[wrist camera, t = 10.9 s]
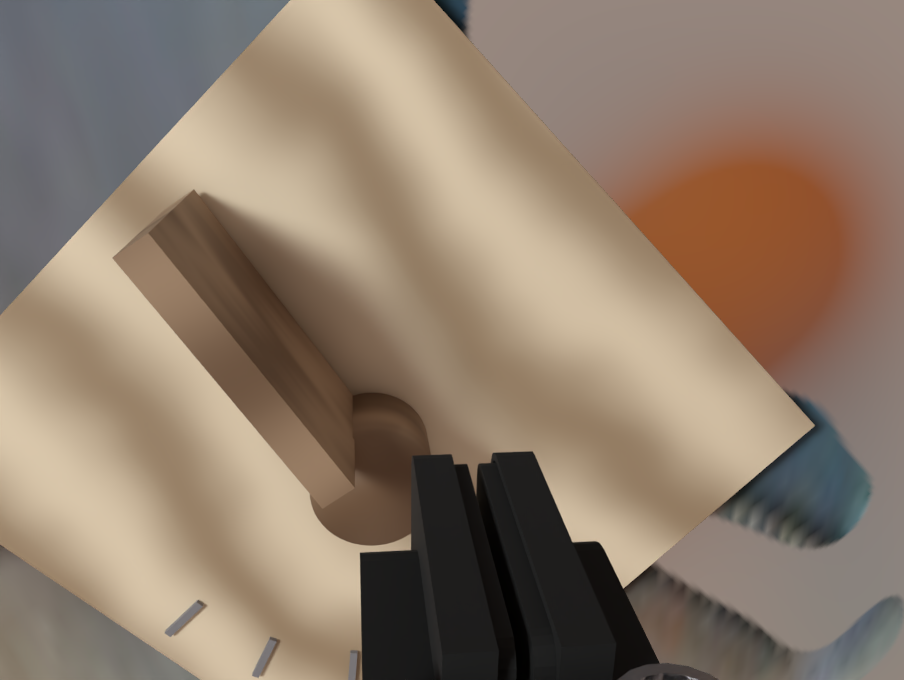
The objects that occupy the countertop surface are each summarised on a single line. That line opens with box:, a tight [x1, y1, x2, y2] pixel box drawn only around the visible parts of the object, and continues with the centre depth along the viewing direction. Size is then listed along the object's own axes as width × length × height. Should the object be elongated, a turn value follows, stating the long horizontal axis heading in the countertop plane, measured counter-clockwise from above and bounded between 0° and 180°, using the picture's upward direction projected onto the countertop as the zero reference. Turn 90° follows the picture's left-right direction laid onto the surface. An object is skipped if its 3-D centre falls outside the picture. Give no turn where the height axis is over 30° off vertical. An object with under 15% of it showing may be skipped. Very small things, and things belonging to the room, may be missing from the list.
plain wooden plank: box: [113, 189, 431, 546], centre depth 30 cm, size 24×4×7 cm, turn 33°
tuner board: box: [0, 0, 815, 680], centre depth 34 cm, size 26×26×1 cm
